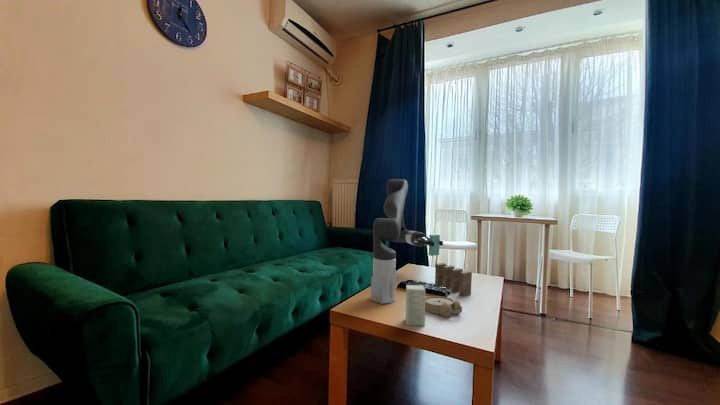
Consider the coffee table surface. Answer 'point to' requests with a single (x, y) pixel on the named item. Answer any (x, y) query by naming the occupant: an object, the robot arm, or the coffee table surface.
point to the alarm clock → (442, 305)
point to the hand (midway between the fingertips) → (438, 243)
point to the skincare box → (415, 305)
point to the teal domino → (434, 249)
